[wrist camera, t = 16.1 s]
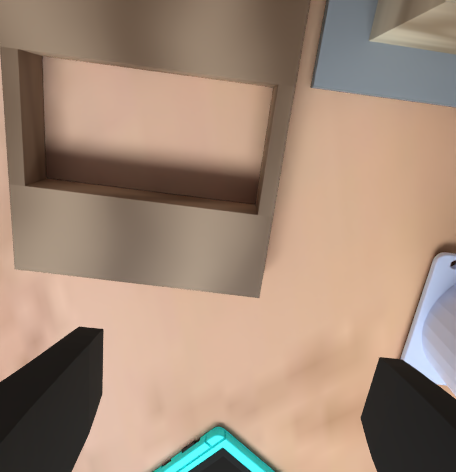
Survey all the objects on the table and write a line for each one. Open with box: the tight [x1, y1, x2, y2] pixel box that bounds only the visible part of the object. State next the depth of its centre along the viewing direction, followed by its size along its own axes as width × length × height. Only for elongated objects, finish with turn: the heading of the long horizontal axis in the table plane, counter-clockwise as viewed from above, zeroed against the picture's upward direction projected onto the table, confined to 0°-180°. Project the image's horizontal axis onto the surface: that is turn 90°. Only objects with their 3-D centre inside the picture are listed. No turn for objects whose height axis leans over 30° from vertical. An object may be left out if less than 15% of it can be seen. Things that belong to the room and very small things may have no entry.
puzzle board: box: [0, 0, 310, 298], centre depth 15 cm, size 12×22×2 cm, turn 173°
